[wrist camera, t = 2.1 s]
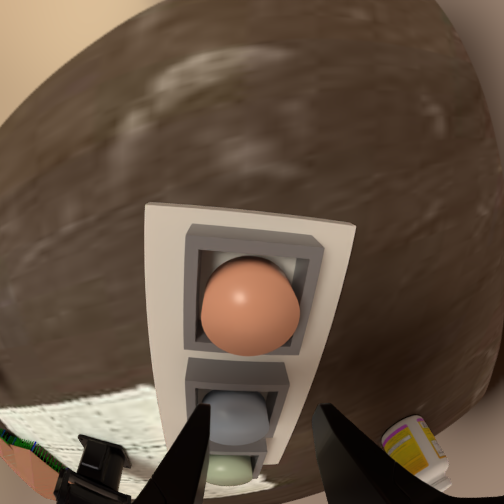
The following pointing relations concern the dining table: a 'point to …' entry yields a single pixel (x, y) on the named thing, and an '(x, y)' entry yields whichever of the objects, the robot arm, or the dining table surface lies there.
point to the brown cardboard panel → (30, 466)
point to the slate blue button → (237, 416)
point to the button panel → (191, 300)
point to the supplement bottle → (417, 451)
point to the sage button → (229, 470)
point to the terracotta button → (249, 307)
